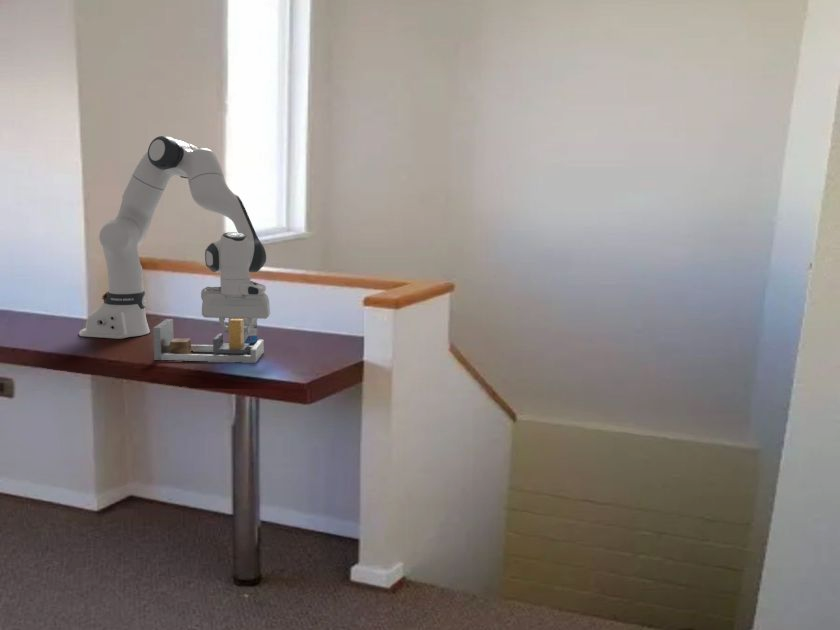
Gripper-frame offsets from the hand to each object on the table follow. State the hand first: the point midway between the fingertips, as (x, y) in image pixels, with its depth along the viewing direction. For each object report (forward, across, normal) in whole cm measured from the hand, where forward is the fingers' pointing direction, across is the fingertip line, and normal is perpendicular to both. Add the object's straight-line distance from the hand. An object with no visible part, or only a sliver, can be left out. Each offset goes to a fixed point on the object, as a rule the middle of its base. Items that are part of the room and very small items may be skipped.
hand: (236, 332), depth 270 cm
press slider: (+8, -1, 0) cm, 8 cm away
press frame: (+8, -8, 0) cm, 11 cm away
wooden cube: (+8, -17, 0) cm, 19 cm away
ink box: (+8, -2, +20) cm, 22 cm away
